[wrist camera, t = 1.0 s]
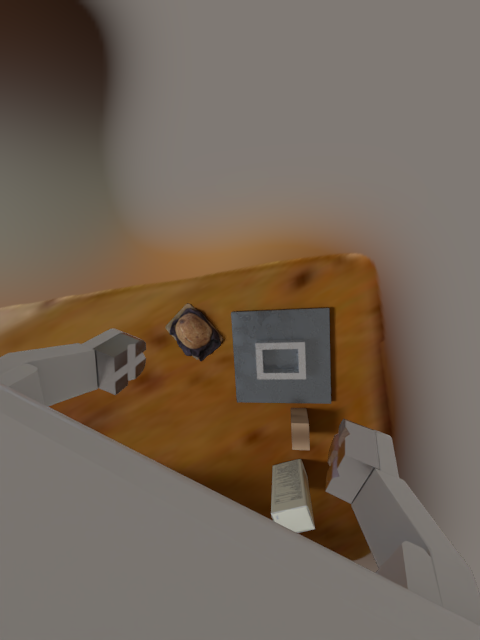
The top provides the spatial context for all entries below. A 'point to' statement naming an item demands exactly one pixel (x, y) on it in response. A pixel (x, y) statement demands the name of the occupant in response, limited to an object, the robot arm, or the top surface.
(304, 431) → the walnut peg
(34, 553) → the robot arm
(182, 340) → the bread roll
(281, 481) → the skincare box
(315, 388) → the metal duct collar
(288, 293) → the top surface
